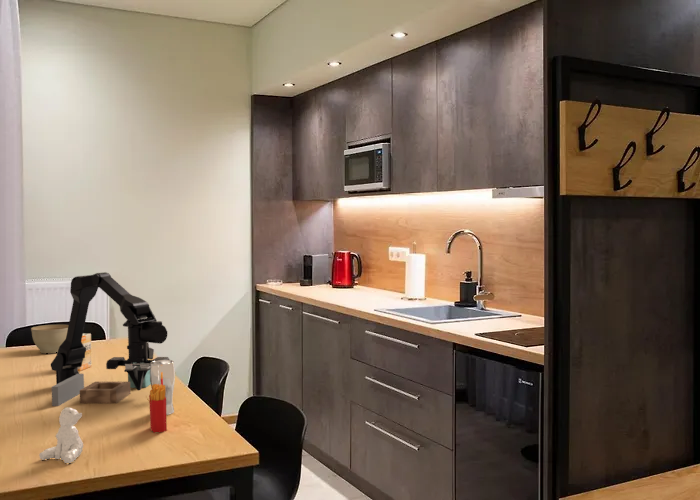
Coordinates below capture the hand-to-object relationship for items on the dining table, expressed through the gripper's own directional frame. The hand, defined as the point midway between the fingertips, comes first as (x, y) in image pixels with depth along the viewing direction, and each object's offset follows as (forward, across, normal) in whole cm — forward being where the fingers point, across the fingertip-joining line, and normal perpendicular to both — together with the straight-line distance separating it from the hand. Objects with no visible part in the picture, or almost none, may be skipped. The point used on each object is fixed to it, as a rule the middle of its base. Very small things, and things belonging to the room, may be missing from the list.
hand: (139, 390), depth 223 cm
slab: (+3, +23, 0) cm, 23 cm away
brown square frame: (+3, +11, 0) cm, 11 cm away
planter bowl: (+3, +67, -78) cm, 103 cm away
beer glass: (+3, -13, +16) cm, 21 cm away
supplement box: (+3, +39, -44) cm, 59 cm away
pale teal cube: (+3, +6, -17) cm, 18 cm away
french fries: (+3, -17, +32) cm, 36 cm away
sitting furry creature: (+3, -2, +54) cm, 54 cm away
